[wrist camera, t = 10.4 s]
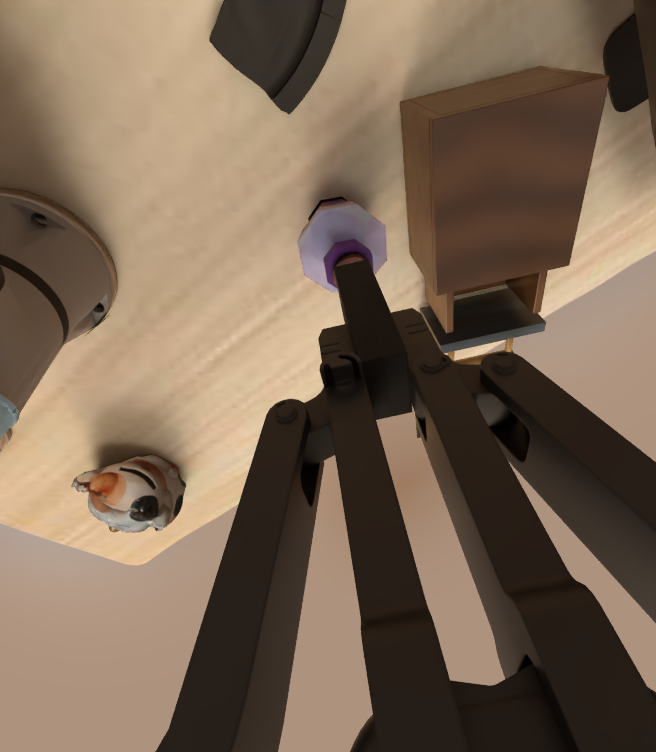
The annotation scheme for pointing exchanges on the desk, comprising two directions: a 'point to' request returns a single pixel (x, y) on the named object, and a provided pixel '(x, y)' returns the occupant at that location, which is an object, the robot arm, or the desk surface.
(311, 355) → the desk surface
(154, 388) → the desk surface
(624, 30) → the laptop stand
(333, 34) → the dark sector wedge
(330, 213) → the potion bottle
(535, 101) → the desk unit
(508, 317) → the drawer
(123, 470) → the lucky cat figurine
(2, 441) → the travel mug
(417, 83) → the desk surface
